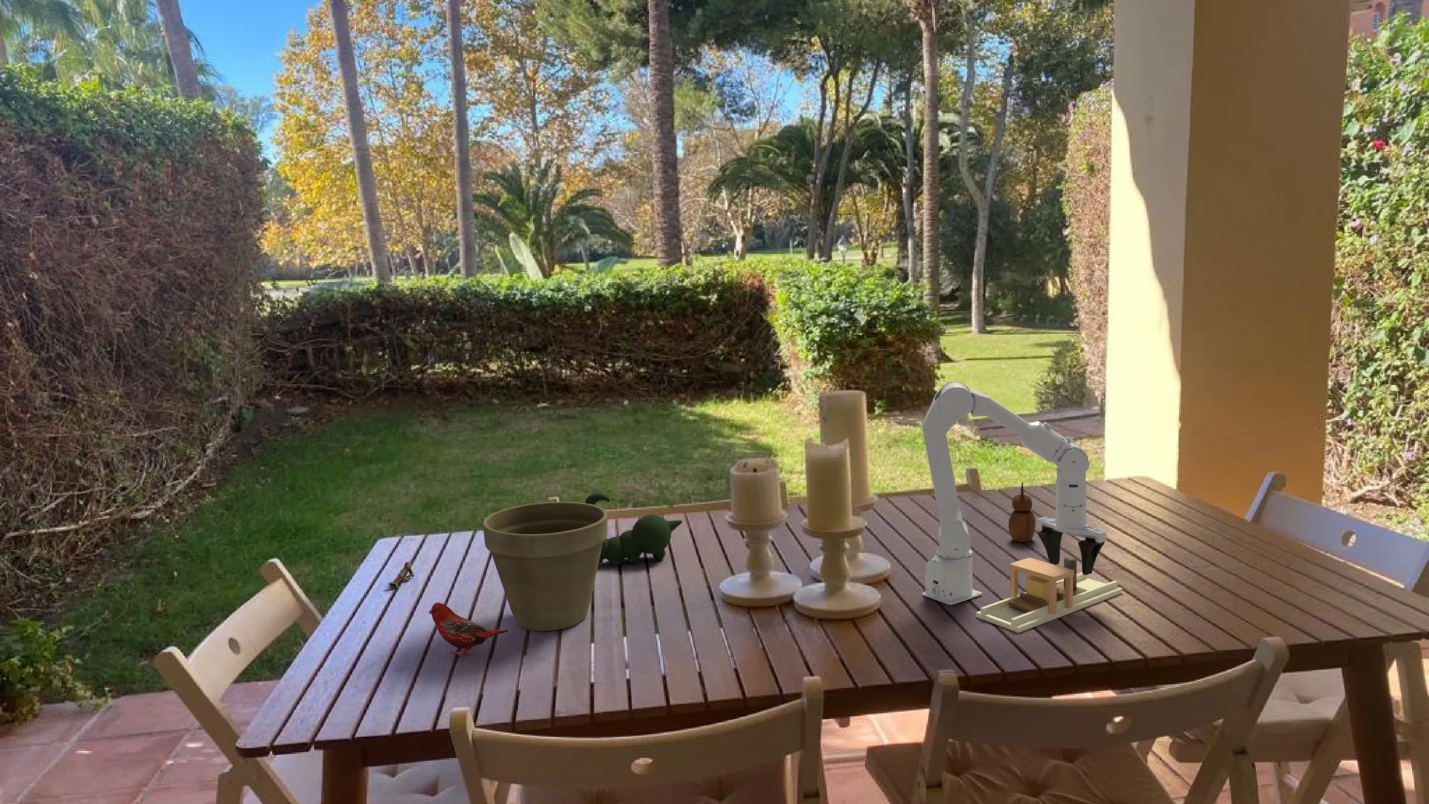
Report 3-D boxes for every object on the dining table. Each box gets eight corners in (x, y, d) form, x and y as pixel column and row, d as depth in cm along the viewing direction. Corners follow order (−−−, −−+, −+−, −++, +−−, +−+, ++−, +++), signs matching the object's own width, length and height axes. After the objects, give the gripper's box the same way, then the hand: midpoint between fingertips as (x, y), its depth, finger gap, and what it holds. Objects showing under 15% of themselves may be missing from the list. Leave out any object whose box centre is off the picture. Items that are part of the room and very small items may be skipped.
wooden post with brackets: (418, 573, 221) (412, 559, 218) (401, 597, 214) (395, 582, 212) (412, 572, 221) (405, 558, 219) (394, 596, 215) (388, 582, 212)
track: (1019, 633, 171) (1019, 589, 170) (975, 616, 180) (975, 574, 179) (1123, 593, 188) (1123, 553, 187) (1078, 580, 197) (1078, 541, 196)
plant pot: (638, 608, 193) (632, 507, 190) (555, 652, 173) (547, 540, 170) (551, 589, 207) (544, 495, 204) (465, 628, 187) (455, 524, 184)
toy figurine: (585, 579, 218) (689, 559, 222) (572, 502, 215) (678, 483, 219) (584, 567, 227) (684, 548, 231) (572, 492, 224) (673, 474, 228)
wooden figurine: (1029, 545, 222) (1029, 484, 219) (1005, 542, 225) (1005, 482, 223) (1038, 538, 227) (1038, 478, 225) (1015, 535, 230) (1015, 476, 228)
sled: (1033, 613, 177) (1033, 579, 176) (1009, 605, 182) (1008, 571, 181) (1087, 593, 186) (1087, 561, 185) (1062, 586, 190) (1062, 554, 189)
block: (1043, 603, 180) (1043, 583, 179) (1026, 597, 183) (1026, 578, 182) (1056, 598, 182) (1056, 579, 181) (1039, 593, 185) (1039, 573, 184)
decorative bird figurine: (436, 648, 177) (432, 598, 176) (515, 659, 171) (511, 607, 169) (427, 655, 175) (422, 604, 173) (506, 665, 168) (502, 613, 167)
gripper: (1116, 506, 181) (1115, 573, 183) (1052, 493, 193) (1052, 556, 195) (1093, 513, 177) (1093, 581, 179) (1030, 499, 189) (1030, 563, 191)
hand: (1070, 569), depth 187 cm, fingers open, 7 cm apart
